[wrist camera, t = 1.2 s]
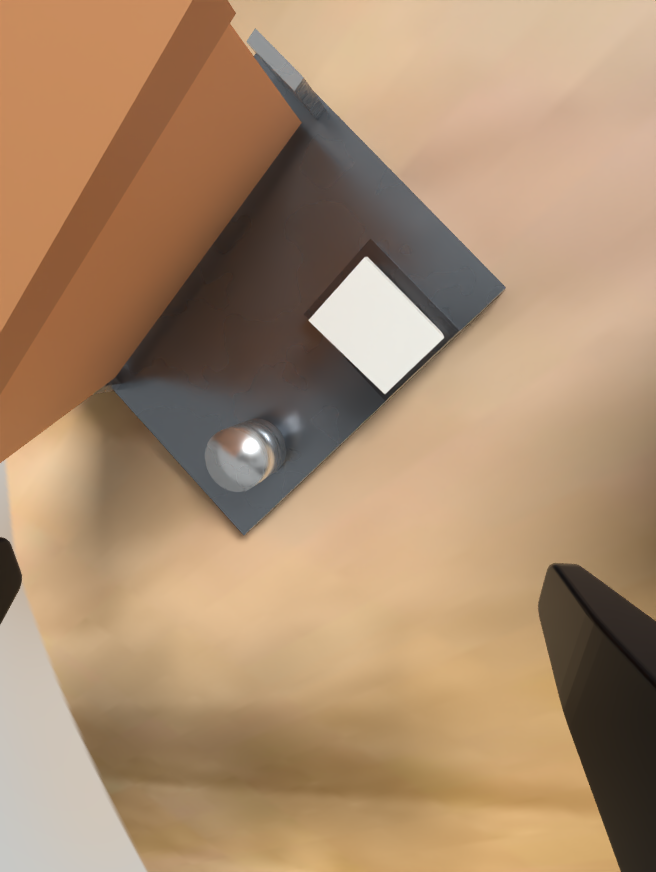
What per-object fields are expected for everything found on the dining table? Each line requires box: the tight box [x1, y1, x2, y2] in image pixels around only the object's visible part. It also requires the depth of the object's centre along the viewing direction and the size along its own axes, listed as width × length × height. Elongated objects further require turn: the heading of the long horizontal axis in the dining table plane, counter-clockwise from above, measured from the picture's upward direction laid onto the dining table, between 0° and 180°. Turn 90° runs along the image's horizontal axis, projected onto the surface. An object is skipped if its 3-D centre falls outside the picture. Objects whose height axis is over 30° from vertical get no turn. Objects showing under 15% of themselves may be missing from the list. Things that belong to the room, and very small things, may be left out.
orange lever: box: [0, 0, 302, 463], centre depth 12 cm, size 2×12×11 cm, turn 135°
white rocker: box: [308, 257, 444, 394], centre depth 14 cm, size 3×2×1 cm
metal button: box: [205, 418, 287, 492], centre depth 17 cm, size 2×2×2 cm
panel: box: [94, 29, 506, 535], centre depth 17 cm, size 11×13×3 cm
